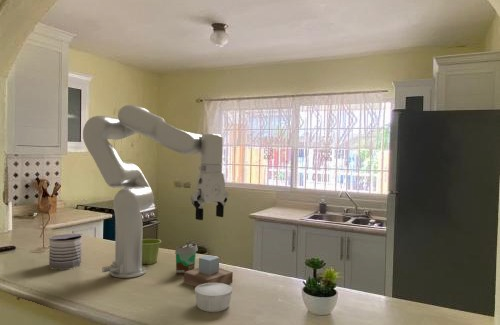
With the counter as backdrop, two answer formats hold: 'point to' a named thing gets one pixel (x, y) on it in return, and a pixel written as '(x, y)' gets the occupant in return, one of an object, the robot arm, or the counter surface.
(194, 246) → the food container
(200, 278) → the walnut block
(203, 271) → the slate block
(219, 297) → the ramekin
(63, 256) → the can
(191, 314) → the counter surface
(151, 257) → the plant pot
